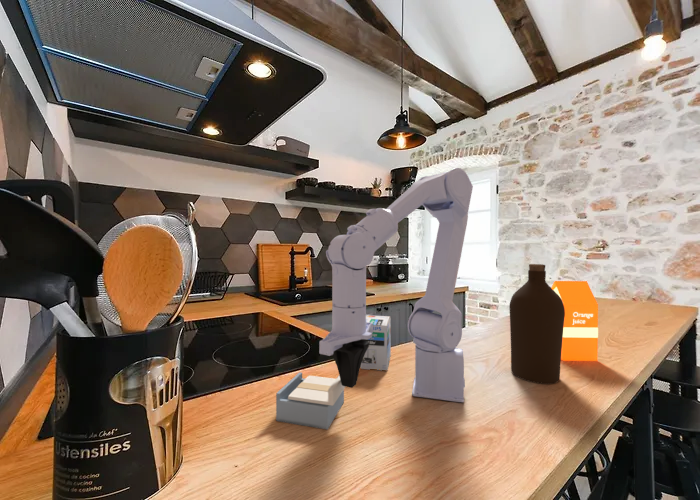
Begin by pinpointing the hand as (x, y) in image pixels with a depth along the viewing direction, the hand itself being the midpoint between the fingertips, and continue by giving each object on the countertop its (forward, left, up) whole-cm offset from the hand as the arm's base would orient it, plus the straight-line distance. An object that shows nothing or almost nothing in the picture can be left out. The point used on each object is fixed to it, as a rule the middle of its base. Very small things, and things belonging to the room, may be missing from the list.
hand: (348, 385), depth 53 cm
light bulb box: (0, -26, -6) cm, 27 cm away
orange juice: (-49, -45, -6) cm, 67 cm away
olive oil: (-36, -28, -6) cm, 46 cm away
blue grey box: (+7, 0, -5) cm, 9 cm away
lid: (+5, 0, -2) cm, 6 cm away
